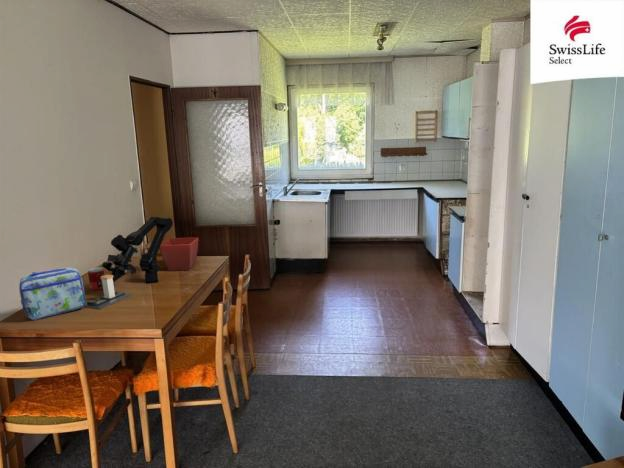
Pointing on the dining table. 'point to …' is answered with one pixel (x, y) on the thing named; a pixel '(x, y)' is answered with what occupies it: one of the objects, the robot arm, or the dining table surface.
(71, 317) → the dining table surface
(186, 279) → the dining table surface
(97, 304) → the plate
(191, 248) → the plant pot
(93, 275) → the canned food
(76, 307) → the lunch box
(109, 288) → the fader knob
